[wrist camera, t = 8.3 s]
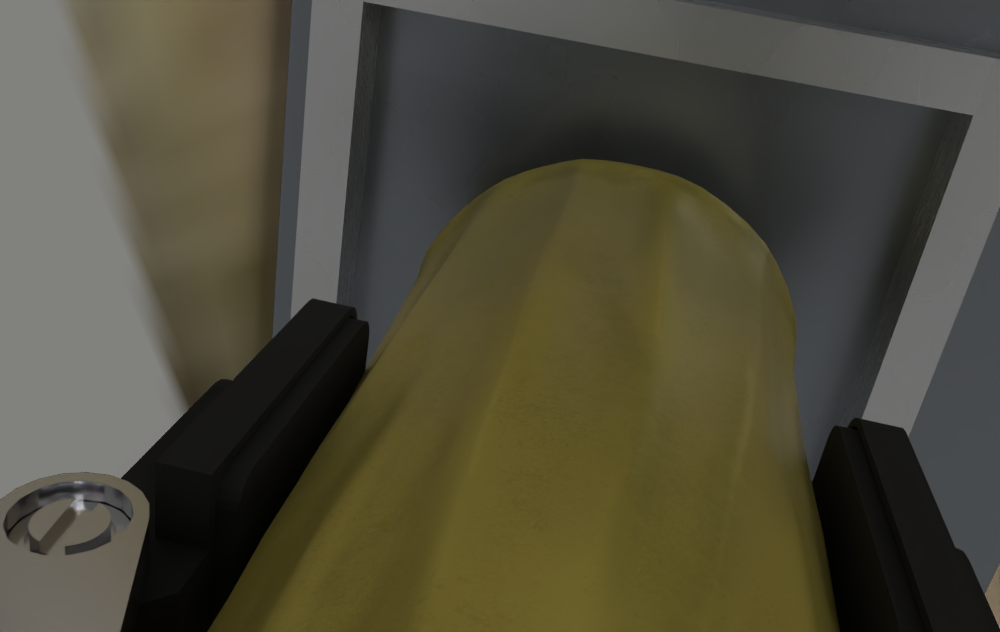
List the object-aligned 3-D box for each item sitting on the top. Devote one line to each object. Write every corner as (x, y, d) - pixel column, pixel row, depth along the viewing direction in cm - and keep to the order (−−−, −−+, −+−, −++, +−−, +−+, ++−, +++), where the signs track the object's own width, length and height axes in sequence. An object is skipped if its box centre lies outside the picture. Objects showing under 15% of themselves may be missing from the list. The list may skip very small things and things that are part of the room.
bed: (325, -120, 16) (169, -133, 11) (1203, 33, 14) (1465, 95, 10) (270, 676, 23) (162, 875, 18) (842, 825, 22) (888, 1084, 17)
